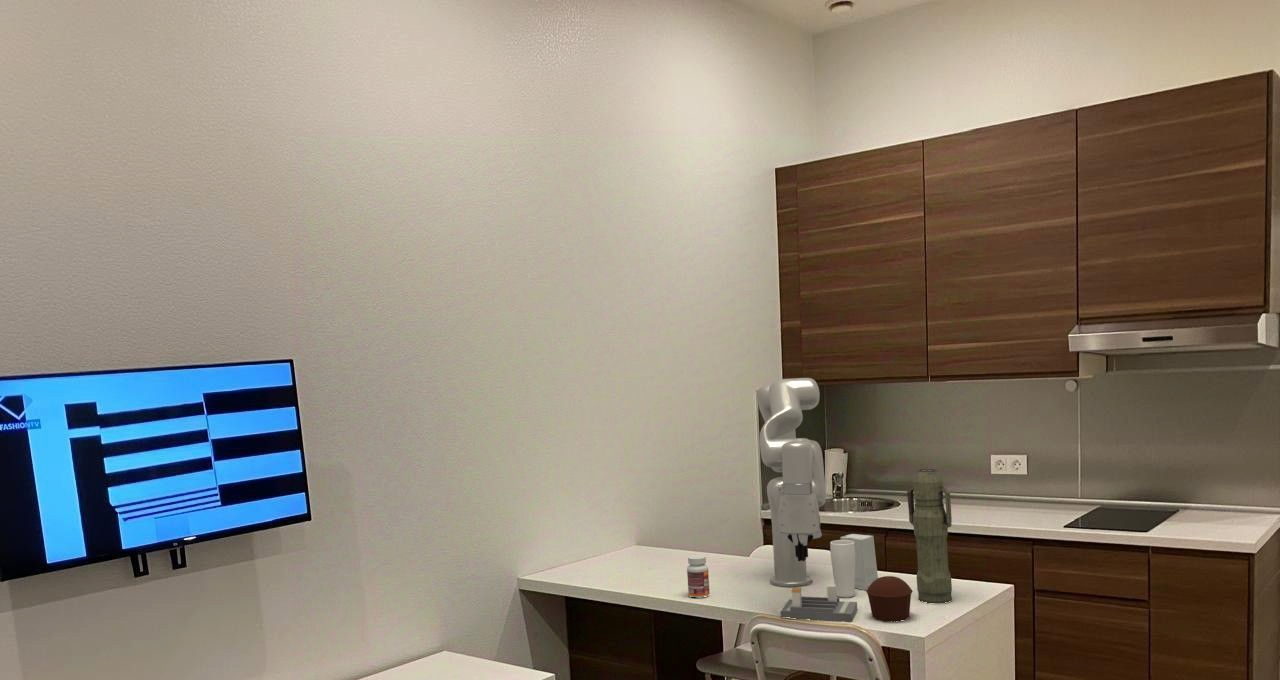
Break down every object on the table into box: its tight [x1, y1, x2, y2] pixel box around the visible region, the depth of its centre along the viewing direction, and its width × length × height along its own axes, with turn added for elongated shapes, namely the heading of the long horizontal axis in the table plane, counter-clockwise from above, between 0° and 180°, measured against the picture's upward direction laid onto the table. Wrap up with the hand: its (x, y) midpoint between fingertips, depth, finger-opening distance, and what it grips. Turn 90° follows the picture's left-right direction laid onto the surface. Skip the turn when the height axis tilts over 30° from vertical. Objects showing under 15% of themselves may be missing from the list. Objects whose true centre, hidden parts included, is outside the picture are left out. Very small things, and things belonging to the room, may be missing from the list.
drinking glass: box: [829, 539, 856, 599], centre depth 257 cm, size 7×7×15 cm
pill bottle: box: [686, 554, 711, 598], centre depth 265 cm, size 6×6×11 cm
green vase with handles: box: [906, 468, 953, 604], centre depth 248 cm, size 9×12×35 cm
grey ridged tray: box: [780, 583, 858, 623], centre depth 239 cm, size 12×18×7 cm, turn 70°
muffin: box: [865, 575, 913, 623], centre depth 233 cm, size 12×11×10 cm
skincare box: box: [839, 533, 879, 591], centre depth 266 cm, size 8×6×15 cm
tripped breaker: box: [790, 587, 803, 607], centre depth 238 cm, size 2×2×5 cm
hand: (802, 559), depth 238 cm, fingers closed
